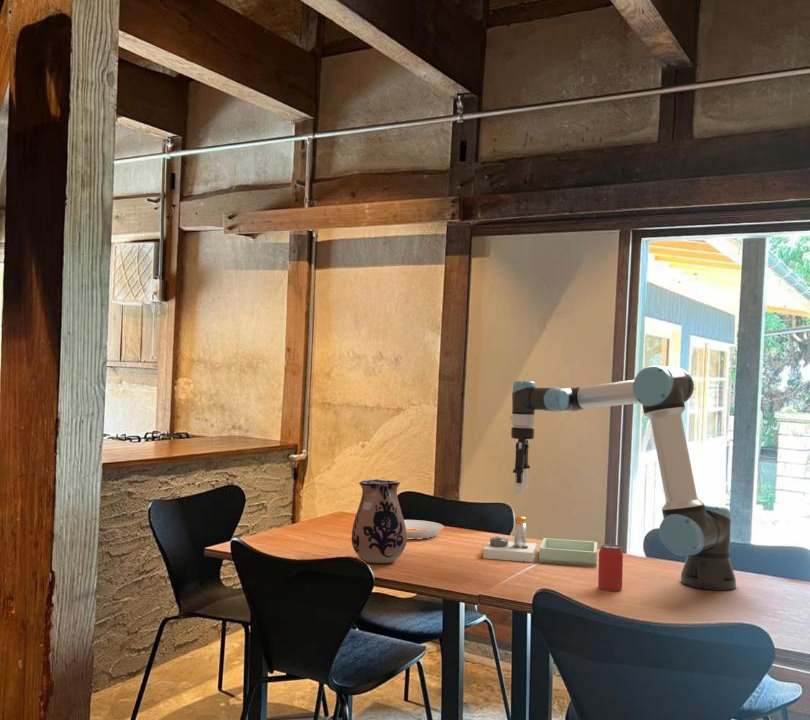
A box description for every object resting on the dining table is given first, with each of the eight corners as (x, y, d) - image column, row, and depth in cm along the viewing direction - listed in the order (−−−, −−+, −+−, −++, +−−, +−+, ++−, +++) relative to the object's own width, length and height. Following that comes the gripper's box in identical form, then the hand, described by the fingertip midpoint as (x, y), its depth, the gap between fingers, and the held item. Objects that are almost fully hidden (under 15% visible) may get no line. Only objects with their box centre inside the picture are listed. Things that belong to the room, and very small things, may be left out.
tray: (596, 566, 251) (596, 552, 251) (539, 562, 256) (539, 548, 256) (596, 555, 269) (597, 541, 269) (543, 551, 273) (543, 537, 273)
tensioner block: (532, 562, 255) (533, 544, 255) (483, 558, 259) (483, 540, 259) (536, 552, 271) (537, 535, 271) (490, 548, 275) (490, 531, 275)
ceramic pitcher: (361, 569, 239) (363, 486, 240) (340, 554, 259) (342, 477, 260) (414, 565, 246) (417, 484, 247) (390, 551, 265) (392, 476, 266)
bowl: (410, 526, 314) (410, 517, 314) (457, 536, 296) (457, 526, 296) (363, 533, 296) (363, 524, 296) (410, 544, 278) (410, 534, 278)
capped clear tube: (525, 557, 262) (526, 518, 262) (512, 556, 263) (513, 517, 263) (526, 555, 266) (527, 516, 266) (514, 554, 266) (515, 515, 267)
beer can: (605, 592, 220) (606, 549, 220) (593, 586, 226) (594, 544, 227) (626, 591, 222) (627, 548, 222) (614, 585, 228) (614, 543, 228)
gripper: (515, 424, 278) (513, 485, 278) (507, 428, 254) (505, 494, 254) (537, 425, 277) (535, 486, 276) (530, 429, 252) (528, 496, 252)
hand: (520, 490), depth 265 cm, fingers open, 13 cm apart
